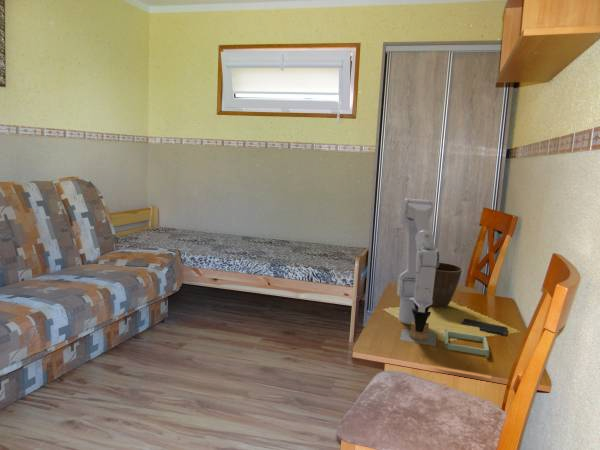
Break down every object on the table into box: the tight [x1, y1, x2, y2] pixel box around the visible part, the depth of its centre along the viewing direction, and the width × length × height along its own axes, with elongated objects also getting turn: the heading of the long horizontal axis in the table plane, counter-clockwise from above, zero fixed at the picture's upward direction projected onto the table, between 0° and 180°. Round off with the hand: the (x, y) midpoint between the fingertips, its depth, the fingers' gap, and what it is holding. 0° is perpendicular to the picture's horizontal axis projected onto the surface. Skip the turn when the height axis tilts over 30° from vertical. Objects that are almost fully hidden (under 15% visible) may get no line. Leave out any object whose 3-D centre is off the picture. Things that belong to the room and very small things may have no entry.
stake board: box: [399, 328, 437, 347], centre depth 158 cm, size 11×11×5 cm
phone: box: [460, 318, 509, 336], centre depth 175 cm, size 8×1×15 cm
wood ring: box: [410, 321, 430, 341], centre depth 158 cm, size 5×5×5 cm
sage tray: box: [444, 329, 490, 359], centre depth 155 cm, size 13×13×2 cm
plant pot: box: [431, 262, 463, 309], centre depth 197 cm, size 15×15×16 cm
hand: (419, 327), depth 158 cm, fingers open, 7 cm apart
